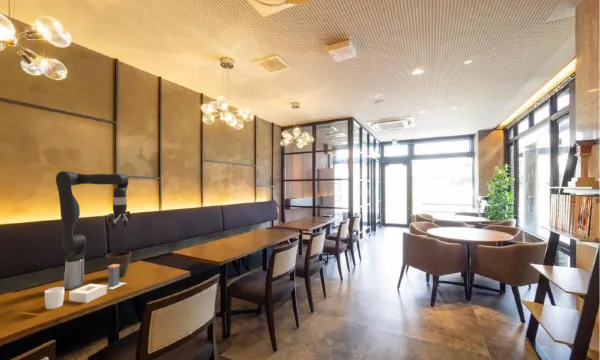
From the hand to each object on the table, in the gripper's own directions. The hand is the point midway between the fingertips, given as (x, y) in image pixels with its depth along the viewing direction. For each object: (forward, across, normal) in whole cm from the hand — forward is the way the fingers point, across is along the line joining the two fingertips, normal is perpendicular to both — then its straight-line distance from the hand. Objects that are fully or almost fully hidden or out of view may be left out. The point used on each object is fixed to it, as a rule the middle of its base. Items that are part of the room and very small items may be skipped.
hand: (119, 227), depth 171 cm
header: (+38, +22, +2) cm, 43 cm away
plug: (+37, +5, +1) cm, 37 cm away
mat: (+38, +5, +1) cm, 38 cm away
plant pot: (+38, -11, -12) cm, 41 cm away
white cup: (+38, +34, -5) cm, 51 cm away
